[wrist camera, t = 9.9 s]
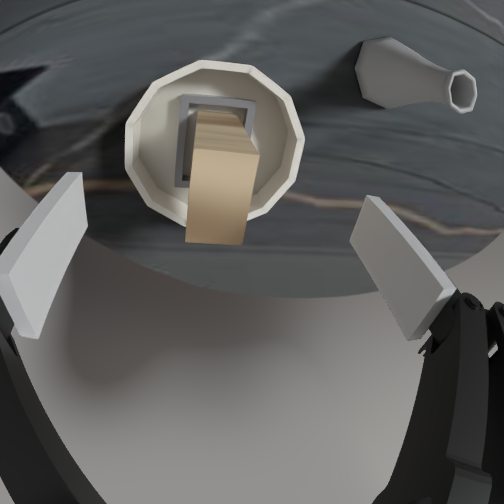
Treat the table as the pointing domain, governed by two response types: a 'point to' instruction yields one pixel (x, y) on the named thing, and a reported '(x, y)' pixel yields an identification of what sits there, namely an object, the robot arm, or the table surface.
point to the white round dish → (184, 124)
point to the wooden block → (220, 180)
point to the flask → (410, 78)
